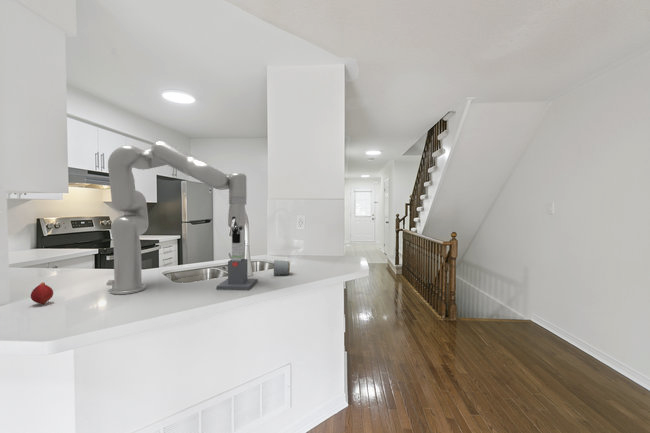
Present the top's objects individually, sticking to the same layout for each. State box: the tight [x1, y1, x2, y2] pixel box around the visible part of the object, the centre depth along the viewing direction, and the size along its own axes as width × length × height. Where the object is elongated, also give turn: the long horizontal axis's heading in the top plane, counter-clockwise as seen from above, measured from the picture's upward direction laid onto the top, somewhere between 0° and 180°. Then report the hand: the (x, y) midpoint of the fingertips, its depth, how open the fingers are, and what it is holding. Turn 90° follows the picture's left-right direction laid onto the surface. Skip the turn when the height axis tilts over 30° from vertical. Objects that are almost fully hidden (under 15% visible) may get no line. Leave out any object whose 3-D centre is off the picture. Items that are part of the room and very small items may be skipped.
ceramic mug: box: [273, 259, 291, 276], centre depth 156 cm, size 11×8×8 cm
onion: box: [30, 281, 54, 305], centre depth 106 cm, size 6×6×8 cm
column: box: [231, 229, 245, 261], centre depth 133 cm, size 4×4×18 cm
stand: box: [215, 258, 259, 291], centre depth 133 cm, size 14×14×12 cm
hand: (237, 241), depth 132 cm, fingers closed on column, 4 cm apart
